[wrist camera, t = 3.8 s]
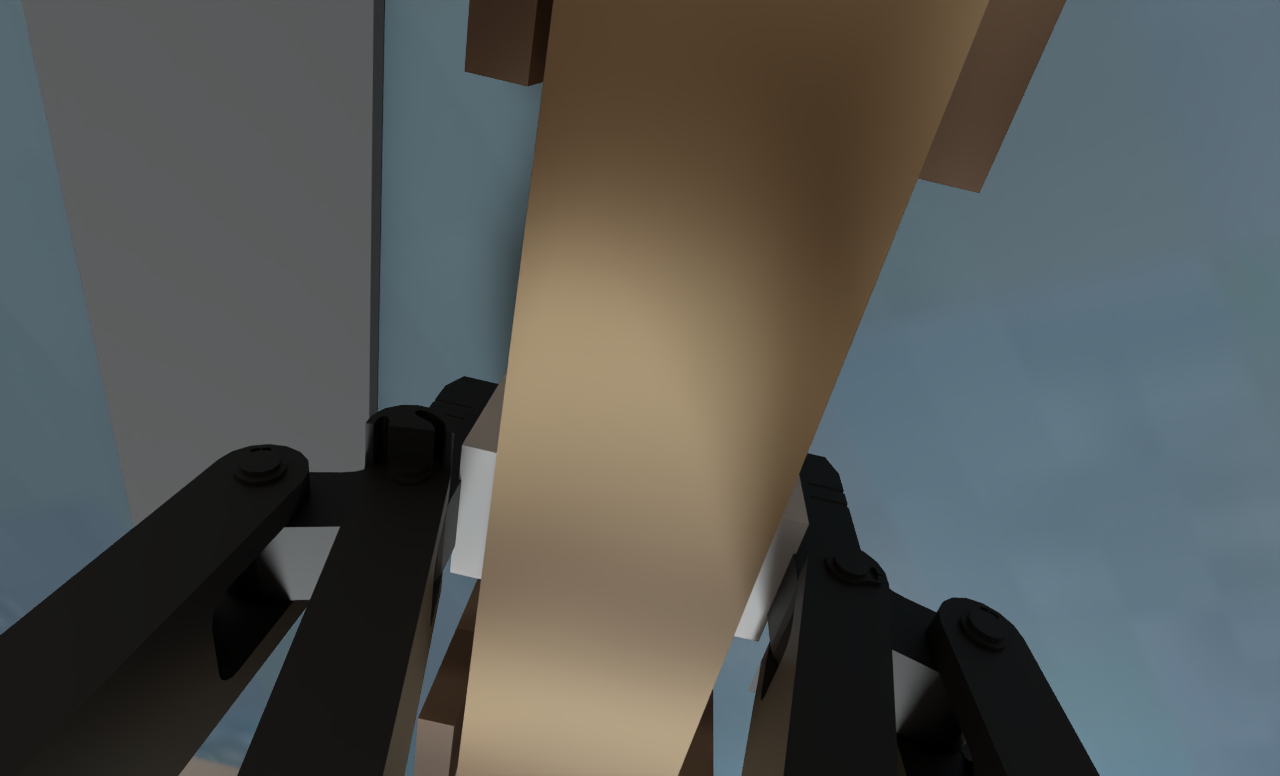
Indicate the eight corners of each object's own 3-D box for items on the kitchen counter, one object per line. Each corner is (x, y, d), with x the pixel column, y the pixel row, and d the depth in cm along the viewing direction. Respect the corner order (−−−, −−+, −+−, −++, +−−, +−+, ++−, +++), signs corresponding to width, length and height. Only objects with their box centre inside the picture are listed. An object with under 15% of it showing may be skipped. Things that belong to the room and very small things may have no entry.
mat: (-52, -471, 13) (-83, -491, 13) (390, -362, 13) (377, -377, 13) (146, 519, 26) (133, 530, 25) (374, 571, 26) (367, 582, 25)
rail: (660, -306, 8) (623, -555, 5) (970, -230, 8) (1158, -419, 5) (490, 746, 19) (439, 909, 15) (628, 776, 19) (609, 946, 15)
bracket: (614, -177, 14) (481, -466, 6) (926, -102, 15) (1216, -283, 6) (505, 561, 25) (402, 827, 17) (686, 602, 25) (675, 887, 17)
